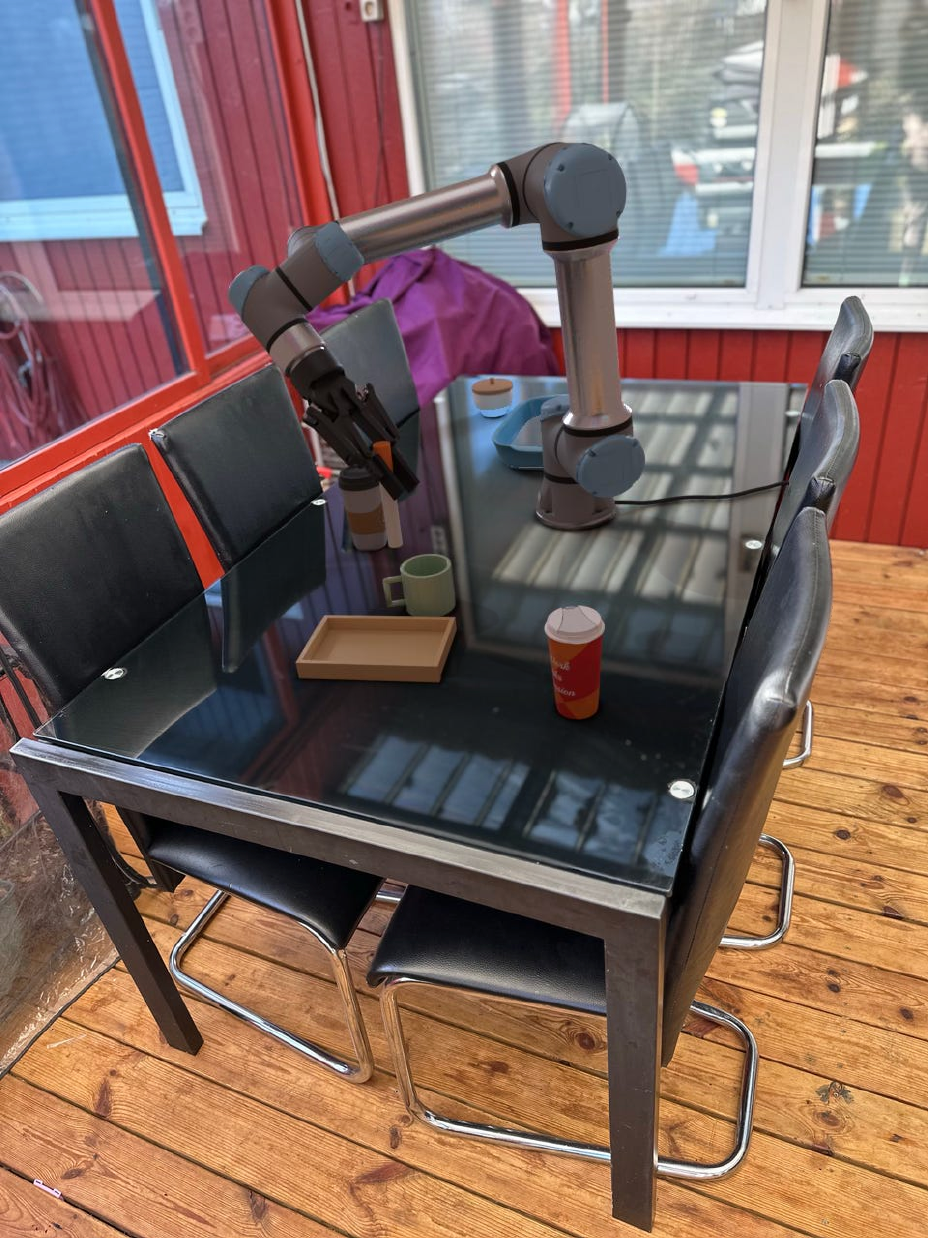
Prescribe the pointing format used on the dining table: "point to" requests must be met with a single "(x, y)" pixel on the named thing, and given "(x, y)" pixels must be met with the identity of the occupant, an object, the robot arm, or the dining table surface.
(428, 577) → the mug
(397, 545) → the marker
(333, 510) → the dining table surface
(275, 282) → the robot arm
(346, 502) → the coffee cup
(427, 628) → the tray
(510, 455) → the casserole dish
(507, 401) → the trinket box
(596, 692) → the paper cup
